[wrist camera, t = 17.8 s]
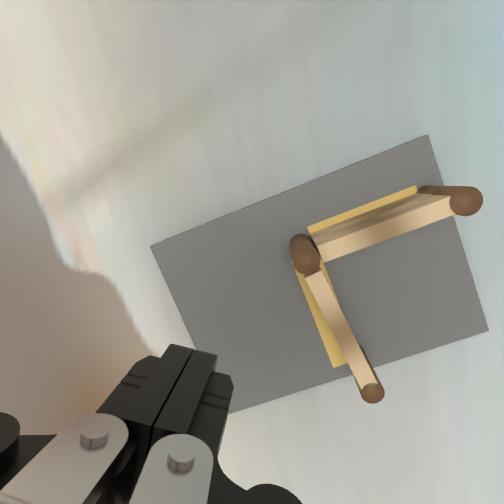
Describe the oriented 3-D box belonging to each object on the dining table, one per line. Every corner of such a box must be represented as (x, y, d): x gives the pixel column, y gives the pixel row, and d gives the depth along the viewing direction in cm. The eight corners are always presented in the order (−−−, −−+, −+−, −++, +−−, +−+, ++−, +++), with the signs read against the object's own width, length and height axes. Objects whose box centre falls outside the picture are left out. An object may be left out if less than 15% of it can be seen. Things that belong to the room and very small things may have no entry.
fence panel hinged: (297, 260, 30) (302, 279, 24) (315, 251, 30) (324, 269, 24) (350, 364, 31) (366, 406, 25) (367, 357, 31) (388, 398, 25)
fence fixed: (434, 181, 28) (478, 182, 22) (440, 203, 29) (486, 209, 22) (286, 238, 30) (288, 253, 24) (294, 258, 30) (298, 278, 24)
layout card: (424, 135, 28) (428, 134, 28) (484, 327, 31) (489, 331, 30) (152, 245, 32) (149, 246, 31) (227, 410, 34) (226, 415, 33)
